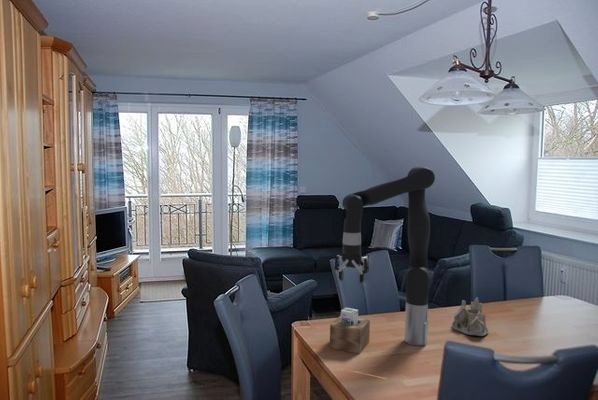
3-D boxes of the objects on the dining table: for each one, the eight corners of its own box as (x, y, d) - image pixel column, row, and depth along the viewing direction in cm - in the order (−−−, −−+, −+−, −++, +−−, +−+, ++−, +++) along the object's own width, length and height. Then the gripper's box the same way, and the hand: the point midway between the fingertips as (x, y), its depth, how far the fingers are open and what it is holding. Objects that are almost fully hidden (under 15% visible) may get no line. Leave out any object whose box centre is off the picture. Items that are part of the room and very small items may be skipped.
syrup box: (339, 344, 188) (340, 310, 187) (345, 339, 194) (346, 306, 192) (352, 347, 186) (353, 312, 184) (357, 342, 191) (358, 309, 190)
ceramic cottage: (453, 323, 219) (455, 292, 218) (490, 329, 211) (491, 298, 210) (447, 333, 206) (448, 301, 204) (486, 340, 198) (487, 307, 197)
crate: (369, 342, 193) (369, 319, 192) (359, 353, 181) (360, 329, 180) (340, 337, 198) (341, 315, 198) (329, 347, 187) (330, 324, 186)
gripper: (371, 243, 187) (370, 281, 188) (338, 240, 193) (338, 277, 194) (365, 245, 180) (365, 285, 181) (332, 242, 186) (332, 281, 187)
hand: (351, 281), depth 188 cm, fingers open, 8 cm apart
